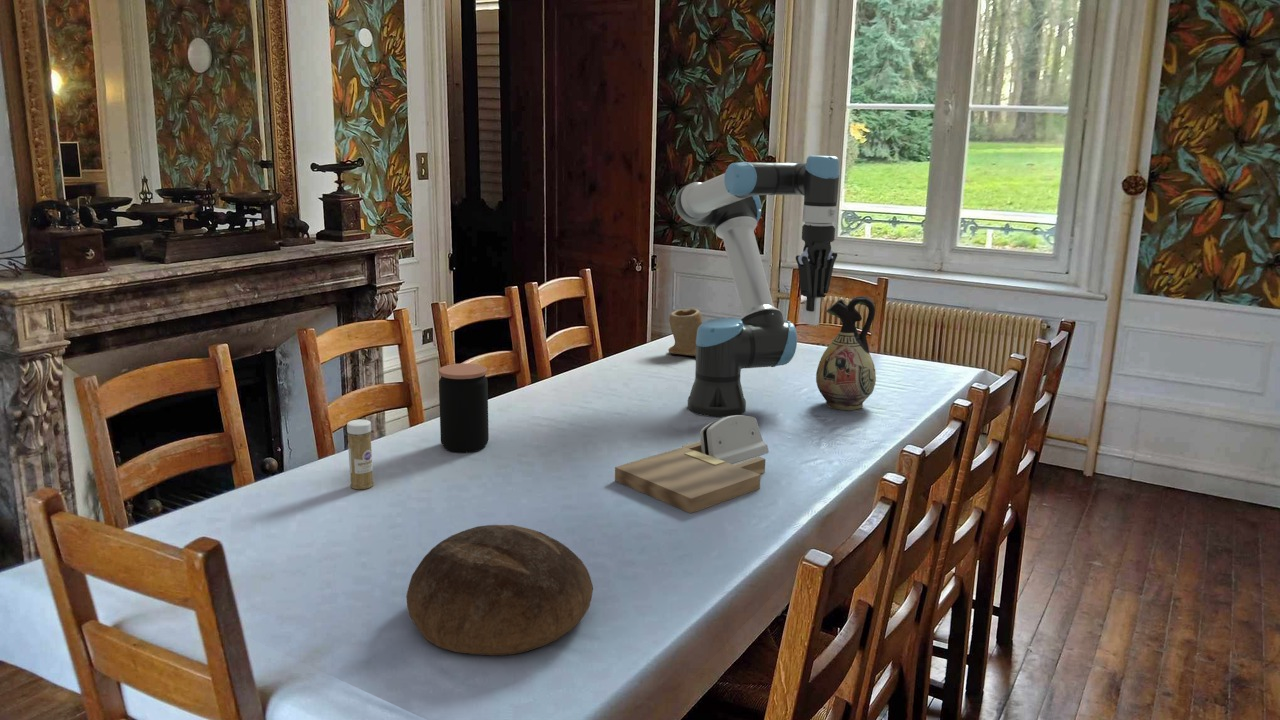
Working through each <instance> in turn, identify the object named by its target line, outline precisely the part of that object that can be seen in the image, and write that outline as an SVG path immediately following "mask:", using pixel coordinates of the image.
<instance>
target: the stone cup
mask: <svg viewBox="0 0 1280 720" xmlns="http://www.w3.org/2000/svg"><path fill="white" fill-rule="evenodd" d="M668 319H669V320H668V321H669V326H670V331H671V334H672V336H673V339H674V344H673V345H672V346H670V347H669V348H668V352H669V353H670V354H673V355H681V356H689V357H696V338H697V330H698V327H699V326H700V325H701V324H702V323H703V315H702V313H701V311H700V310H699V309H697V308H689V309H685V308H681V309H677V310H674V311H673V312H670V314H669V318H668Z"/></svg>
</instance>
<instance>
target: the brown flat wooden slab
mask: <svg viewBox="0 0 1280 720" xmlns="http://www.w3.org/2000/svg"><path fill="white" fill-rule="evenodd" d="M765 471H766V458H765V457H761V456H760V455H759V456H756V457H752V458H749V459H746V460H742V461H739V462H736V463H733V464H730V463H727V462H725V461H722V460H720V459H717V458H714V457H711V456H708V455H706V454H703V453H702V450H701V441H700V440H699V441H696V442H693V443H689V444H686V445H682V447H679V448H676V449H672V450H669V451H666V452H662V453H658V454H654V455H652V456H649V457H645V458H642V459H637V460H635V461H631V462H627V463H625V464H621V465H618V466H615V467H614V481H615V482H617V483H619V484H622V485H623V486H626V487H628V488H630V489H632V490H635V491H638V492H640V493H643V494H645V495H647V496H650V497H651V498H654V499H657V500H659V501H662V502H663V503H666V504H668V505H670V506H673V507H675V508H677V509H680V510H682V511H684V512H685V513H686V512H687V513H688V514H693V513H695V512H698V511H701V510H704V509H707V508H709V507H712V506H715V505H718V504H720V503H723V502H726V501H729V500H732V499H735V498H738V497H740V496H743V495H746V494H749V493H752V492H754V491H757V490H759V489H760V488H761V476H762V475H761V474H764V473H765Z"/></svg>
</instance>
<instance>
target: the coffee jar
mask: <svg viewBox="0 0 1280 720" xmlns="http://www.w3.org/2000/svg"><path fill="white" fill-rule="evenodd" d="M486 374H488V368H487V367H486V366H484V365H481V364H478V363H477V364H476V363H468V362H467V363H453V364H448V365H444V366H441V367H439V369H438V375H439V376H440V378H439V380H438V393H439V394H438V398H439V402H438V403H439V404H438V405H439V428H440V443H441V445H442V447H443V448H444V450H446V451H448V452H451V453H459V454H460V453H461V454H462V453H463V454H465V453H466V452H468V453H474V452H478V451H481V450H483V449H484V448H485V447H486V446H487V444H488V442H489V438H490V437H489V435H490V433H489V395H488V394H489V393H488V391H489V389H488V388H489V387H488V381H489V379H488V378H487V377H486ZM466 454H467V453H466Z"/></svg>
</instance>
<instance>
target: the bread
mask: <svg viewBox="0 0 1280 720" xmlns="http://www.w3.org/2000/svg"><path fill="white" fill-rule="evenodd" d="M593 585H594V584H593V581H592V578H591V576H590V573H589V571H588V569H587V566H586V565H585V564H584V562H583V561H582V559H581V558H580V557H578V555H577V554H576V553H574V552H573V551H572V549H570V548H569V547H567V546H566V545H565V544H564V543H562V542H560V541H559V540H557V539H555V538H553V537H551V536H549V535H547V534H545V533H542V532H541V531H537V530H534V529H531V528H528V527H527V528H526V527H524V526H523V527H522V526H518V525H514V524H502V525H501V524H490V525H489V524H488V525H480V526H474V527H472V528H468V529H465V530H463V531H462V530H461V531H460V532H458V533H455V534H453V535H450V536H448V537H447V538H445V539H443V540H442V541H440V542H439V543H438V544H436V545H435V546H434V547H432V548H431V549H430V551H429V552H428V553H427V554H426V555H425V556H424V557H423V558H422V560H421V561H420V563H419V564H418V566H417V567H416V568H415V570H414V571H413V573H412V575H411V578H410V582H409V584H408V587H407V591H406V597H405V598H406V607H407V610H408V613H409V617H410V619H411V620H412V622H413V623H414V625H415V626H416V628H417V629H418V631H419V633H420V634H421V635H422V636H423V637H424V638H425V639H426V640H427V641H428V642H429V643H432V644H433V645H435V646H436V647H438V648H440V649H444V650H447V651H451V652H455V653H460V652H461V654H467V653H470V654H469V655H476V654H484V655H483V656H507V655H506V654H509V655H517V654H516V653H518V654H521V653H525V652H528V651H533V650H535V649H538V648H541V647H544V646H547V645H549V644H551V643H554V642H555V641H557V640H559V639H560V638H562V637H563V636H564V635H566V634H567V633H568V632H570V631H571V630H572V629H574V628H575V627H576V626H577V625H578V624H579V622H581V620H582V619H583V618H584V616H585V614H586V613H587V611H588V609H589V608H590V606H591V601H592V596H593V592H594V586H593Z"/></svg>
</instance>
